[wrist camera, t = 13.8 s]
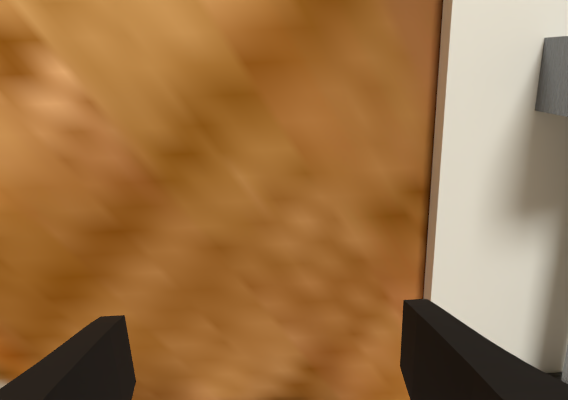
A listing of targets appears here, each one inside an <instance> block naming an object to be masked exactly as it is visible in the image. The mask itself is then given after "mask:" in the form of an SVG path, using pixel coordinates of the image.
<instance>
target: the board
mask: <svg viewBox="0 0 568 400" xmlns="http://www.w3.org/2000/svg"><path fill="white" fill-rule="evenodd" d="M560 36H568V0H443V12H442V27H441V42H440V57H439V72H438V87H437V102H436V117H435V132H434V147H433V162H432V177H431V192H430V207H429V222H428V237H427V252H426V267H425V282H424V297H423V299H428V300H430V301H431V302H433V303H435V304H436V305H438V306H439V307H441V308H442V309H444V310H445V311H447V312H448V313H450V314H451V315H452V316H454V317H455V318H457V319H458V320H460V321H461V322H463V323H464V324H466V325H467V326H469V327H470V328H472V329H473V330H475V331H476V332H478V333H479V334H481V335H482V336H484V337H485V338H487V339H488V340H490V341H491V342H493V343H495V344H496V345H498V346H499V347H501V348H503V349H504V350H506V351H508V352H509V353H511V354H513V355H514V356H516V357H518V358H520V359H521V360H523V361H525V362H526V363H528V364H530V365H532V366H534V367H535V368H537V369H539V370H541V371H543V372H545V373H556V372H563V367H564V361H565V356H566V351H567V345H568V117H565V116H560V115H555V114H550V113H545V112H540V111H535V104H536V97H537V89H538V82H539V74H540V67H541V59H542V52H543V44H544V38H547V37H560Z"/></svg>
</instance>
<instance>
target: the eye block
mask: <svg viewBox="0 0 568 400" xmlns="http://www.w3.org/2000/svg"><path fill="white" fill-rule="evenodd" d="M535 111H540V112H545V113H550V114H555V115H560V116H565V117H568V36H560V37H547V38H544V44H543V52H542V59H541V67H540V74H539V82H538V89H537V97H536V104H535Z"/></svg>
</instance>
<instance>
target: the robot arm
mask: <svg viewBox="0 0 568 400" xmlns="http://www.w3.org/2000/svg"><path fill="white" fill-rule="evenodd" d="M400 367H401V371H402V374H403V377H404V381H405V384H406V387H407V390H408V393H409V396H410V399H411V400H568V384H567V383H565V382H563V381H561V380H559V379H557V378H555V377H553V376H551V375H549V374H547V373H545V372H543V371H541V370H539V369H537V368H535V367H534V366H532V365H530V364H528V363H526V362H525V361H523V360H521V359H520V358H518V357H516V356H514V355H513V354H511V353H509V352H508V351H506V350H504V349H503V348H501V347H499V346H498V345H496V344H495V343H493V342H491V341H490V340H488V339H487V338H485V337H484V336H482V335H481V334H479V333H478V332H476V331H475V330H473V329H472V328H470V327H469V326H467V325H466V324H464V323H463V322H461V321H460V320H458V319H457V318H455V317H454V316H452V315H451V314H450V313H448V312H447V311H445V310H444V309H442V308H441V307H439V306H438V305H436V304H435V303H433V302H431V301H430V300H428V299H416V300H404V304H403V322H402V341H401V359H400ZM135 383H136V379H135V374H134V368H133V362H132V356H131V350H130V344H129V339H128V333H127V327H126V321H125V315H123V316H104V317H99V318H98V319H96V320H95V321H93V322H92V323H90V324H89V325H88V326H86V327H85V328H83V329H82V330H81V331H79V332H78V333H77V334H75V335H74V336H73V337H71V338H70V339H69V340H68V341H66V342H65V343H64V344H62V345H61V346H60V347H58V348H57V349H56V350H54V351H53V352H52V353H50V354H49V355H48V356H46V357H45V358H44V359H42V360H41V361H40V362H38V363H37V364H35V365H34V366H33V367H31V368H30V369H28V370H27V371H25V372H24V373H22V374H21V375H20V376H18V377H17V378H15V379H14V380H12V381H11V382H9V383H8V384H7V385H5V386H4V387H2V388H1V389H0V400H131V399H132V395H133V391H134V387H135Z"/></svg>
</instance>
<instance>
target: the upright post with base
mask: <svg viewBox="0 0 568 400" xmlns="http://www.w3.org/2000/svg"><path fill="white" fill-rule="evenodd" d="M547 374H549V375H551V376H553V377H555V378H557V379H559V380H561V381H563V382H565V383H567V384H568V345H567V351H566V356H565V361H564V367H563V372H556V373H547Z"/></svg>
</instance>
